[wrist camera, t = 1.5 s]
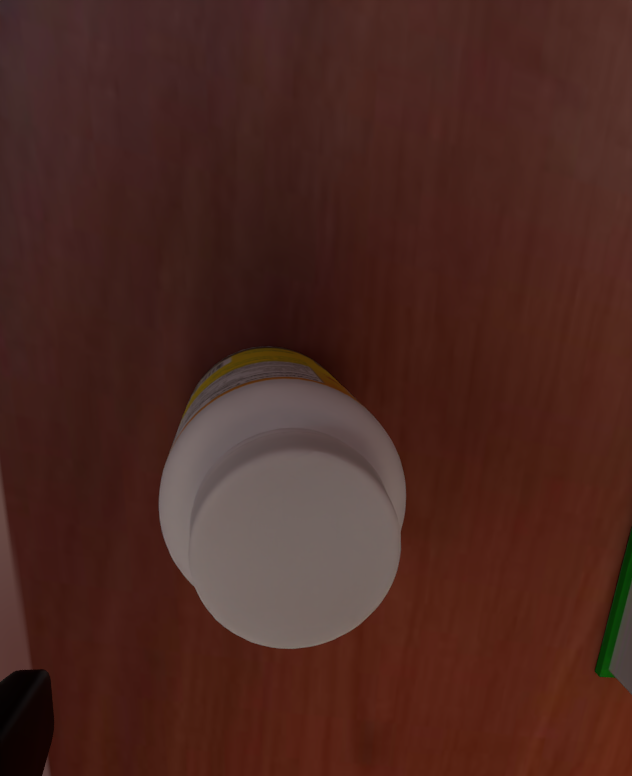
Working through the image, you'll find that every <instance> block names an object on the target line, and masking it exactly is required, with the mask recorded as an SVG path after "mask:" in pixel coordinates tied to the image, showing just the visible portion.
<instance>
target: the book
mask: <svg viewBox="0 0 632 776" xmlns="http://www.w3.org/2000/svg"><path fill="white" fill-rule="evenodd" d="M595 672H596V673H597V674H598V676H599V677H614V678H617V679H618V680H619V681H620V683H621V684H622V685H623V686H624V687H625V688H626V689H627V690H628V691H629V692H630V693H631V694H632V528H631V532H630V536H629V540H628V544H627V548H626V552H625V556H624V560H623V564H622V568H621V571H620V575H619V579H618V583H617V587H616V591H615V595H614V599H613V603H612V607H611V610H610V614H609V618H608V622H607V626H606V630H605V634H604V638H603V642H602V646H601V650H600V653H599V657H598V661H597V665H596V669H595Z"/></svg>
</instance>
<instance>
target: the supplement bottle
mask: <svg viewBox="0 0 632 776" xmlns="http://www.w3.org/2000/svg"><path fill="white" fill-rule="evenodd" d="M405 505H406V485H405V478H404V473H403V468H402V465H401V461H400V458H399V455H398V453H397V451H396V449H395V446H394V444H393V442H392V440H391V439H390V437H389V436H388V434H387V432H386V431H385V430H384V428H383V427H382V426H381V424H380V423H379V422H378V421H377V419H376V418H375V417H374V416H373V415H372V414H371V413H370V412H369V411H368V410H367V409H366V408H365V407H364V406H363V405H362V404H361V403H360V402H359V401H358V400H357V399H356V398H355V397H354V396H352V395H351V393H350V392H349V391H348V390H347V389H346V388H345V387H344V386H342V385H341V384H340V383H339V382H338V381H337V380H336V379H335V378H333V377H332V376H331V375H330V373H329V372H327V371H326V370H325V369H324V368H323V367H322V366H321V365H320V364H318V363H317V362H316V361H314V360H313V359H311V358H309V357H308V356H306V355H304V354H301V353H299V352H296V351H294V350H290V349H286V348H282V347H272V346H261V347H253V348H249V349H245V350H241V351H239V352H236V353H234V354H231V355H229V356H228V357H226V358H224V359H222V360H221V361H220V362H218V363H217V364H215V365H214V366H213V367H212V368H211V369H210V370H209V371H208V372H207V373H206V374H205V375H204V376H203V377H202V379H201V380H200V381H199V383H198V384H197V386H196V388H195V389H194V391H193V393H192V395H191V397H190V399H189V402H188V405H187V407H186V409H185V412H184V414H183V417H182V420H181V422H180V424H179V428H178V431H177V433H176V436H175V439H174V442H173V444H172V447H171V449H170V452H169V455H168V458H167V461H166V463H165V466H164V470H163V474H162V478H161V485H160V493H159V516H160V524H161V529H162V533H163V537H164V540H165V543H166V546H167V548H168V550H169V552H170V555H171V557H172V559H173V560H174V562H175V564H176V565H177V567H178V568H179V569H180V571H181V572H182V574H183V575H184V576H185V577H186V578H187V580H188V581H189V582H190V583H191V584H192V585H193V586H194V587H195V589H196V591H197V593H198V595H199V597H200V599H201V601H202V602H203V604H204V605H205V607H206V608H207V610H208V611H209V612H210V613H211V614H212V616H213V617H214V618H215V619H216V620H217V621H218V622H219V623H220V624H222V625H223V626H224V627H225V628H227V629H228V630H230V631H231V632H233V633H234V634H236V635H238V636H240V637H242V638H244V639H246V640H248V641H250V642H252V643H256V644H259V645H263V646H268V647H273V648H287V649H295V648H304V647H311V646H315V645H319V644H322V643H326V642H328V641H331V640H334V639H336V638H338V637H340V636H342V635H344V634H346V633H347V632H349V631H351V630H353V629H354V628H355V627H357V626H358V625H360V624H361V623H362V622H363V621H364V620H365V619H366V618H367V617H368V616H369V615H370V614H371V613H372V612H373V611H374V610H375V609H376V608H377V607H378V606H379V605H380V603H381V602H382V600H383V599H384V597H385V596H386V594H387V592H388V591H389V589H390V587H391V585H392V583H393V581H394V578H395V575H396V572H397V569H398V564H399V559H400V552H401V534H400V531H401V528H402V525H403V520H404V514H405Z"/></svg>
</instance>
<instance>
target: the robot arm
mask: <svg viewBox="0 0 632 776" xmlns="http://www.w3.org/2000/svg"><path fill="white" fill-rule="evenodd" d="M53 731H54V713H53V701H52V690H51V679H50V676H49V673H48V672H47V671H46V670H43V669H40V670H19V671H15V672H13V673H12V674H10V675H9V676H7V677H6V678H5V679H3V680H2V681H1V682H0V776H42V774H43V770H44V767H45V763H46V760H47V756H48V753H49V749H50V745H51V742H52V737H53Z"/></svg>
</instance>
